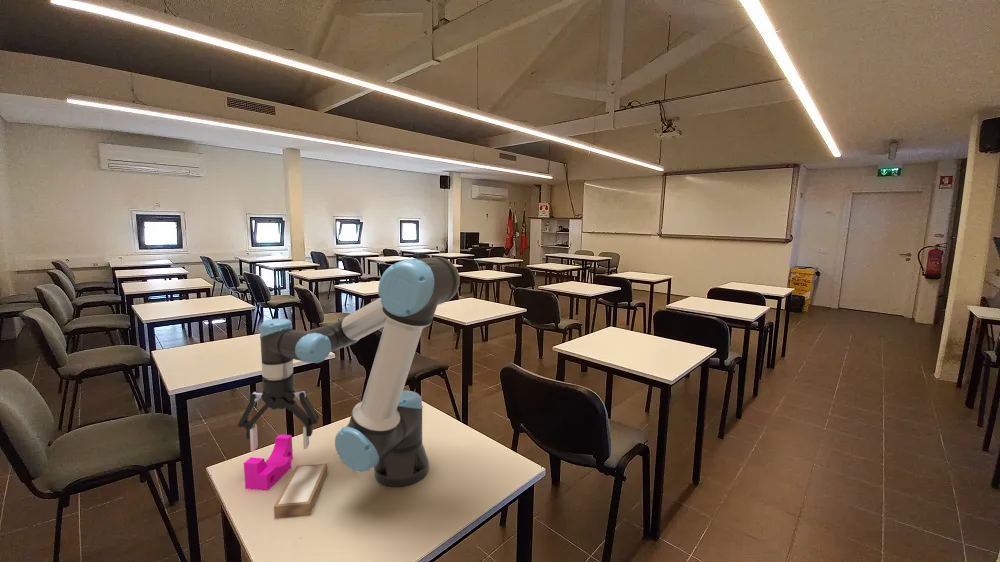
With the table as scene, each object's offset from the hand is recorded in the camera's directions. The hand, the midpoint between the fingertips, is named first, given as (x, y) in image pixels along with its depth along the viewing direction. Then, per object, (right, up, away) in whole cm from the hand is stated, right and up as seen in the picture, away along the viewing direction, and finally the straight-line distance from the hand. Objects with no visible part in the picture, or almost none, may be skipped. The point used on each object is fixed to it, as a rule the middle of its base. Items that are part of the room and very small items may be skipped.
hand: (280, 447), depth 115 cm
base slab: (+11, -8, -9) cm, 16 cm away
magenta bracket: (-2, -8, 0) cm, 8 cm away
